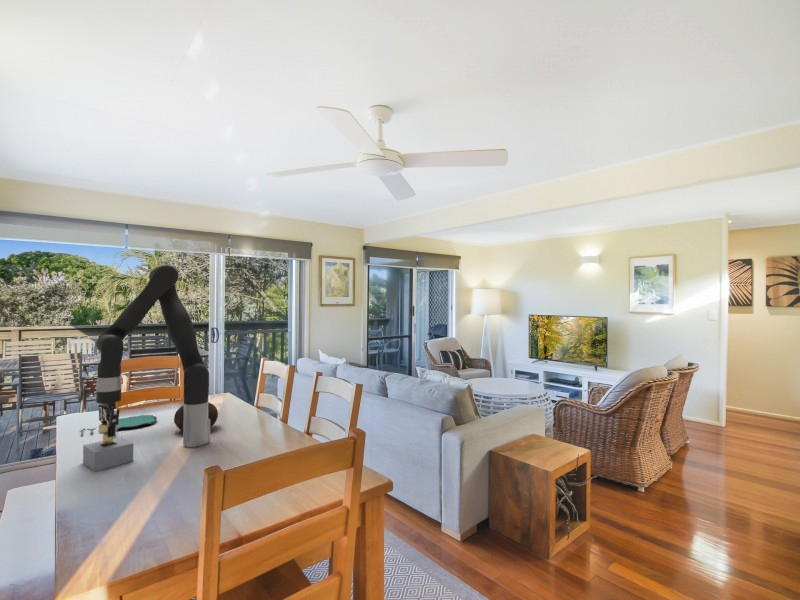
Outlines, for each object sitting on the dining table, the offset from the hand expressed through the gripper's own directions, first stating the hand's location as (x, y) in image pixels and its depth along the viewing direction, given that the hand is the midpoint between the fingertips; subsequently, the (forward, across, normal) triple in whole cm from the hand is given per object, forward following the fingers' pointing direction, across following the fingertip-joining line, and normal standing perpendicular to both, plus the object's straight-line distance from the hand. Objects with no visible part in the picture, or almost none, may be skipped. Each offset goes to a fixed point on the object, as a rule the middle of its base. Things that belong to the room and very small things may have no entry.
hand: (108, 434), depth 149 cm
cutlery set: (+11, +46, -19) cm, 51 cm away
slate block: (+10, 0, 0) cm, 10 cm away
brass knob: (+5, 0, 0) cm, 5 cm away
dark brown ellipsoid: (+10, +12, -38) cm, 41 cm away
